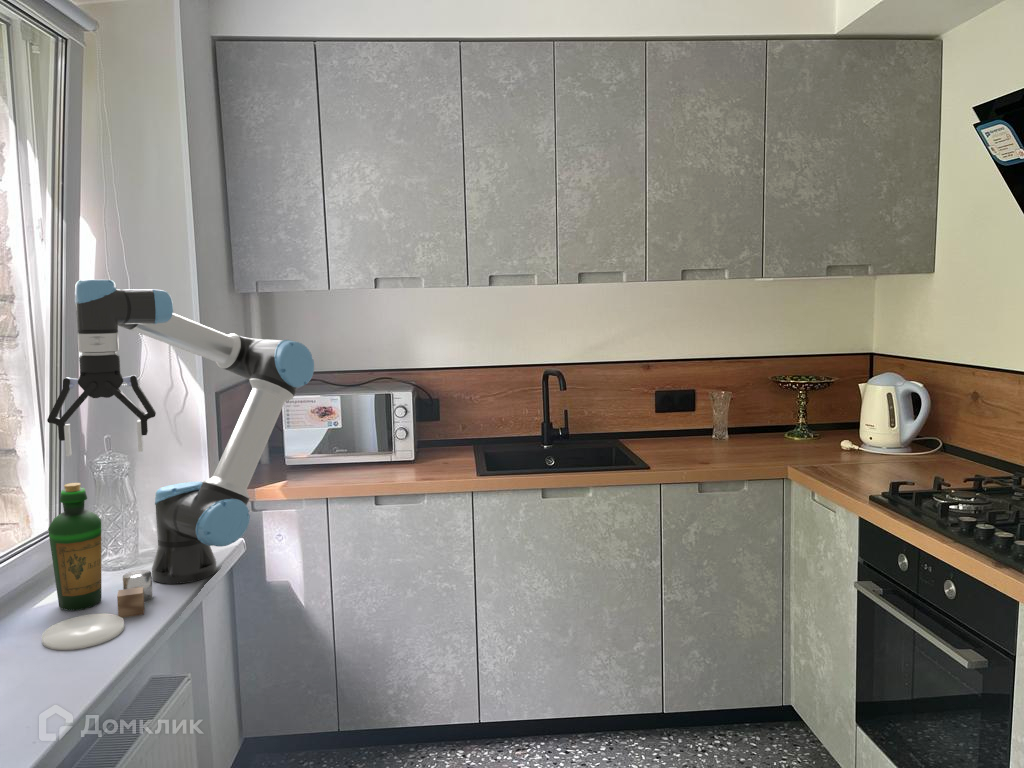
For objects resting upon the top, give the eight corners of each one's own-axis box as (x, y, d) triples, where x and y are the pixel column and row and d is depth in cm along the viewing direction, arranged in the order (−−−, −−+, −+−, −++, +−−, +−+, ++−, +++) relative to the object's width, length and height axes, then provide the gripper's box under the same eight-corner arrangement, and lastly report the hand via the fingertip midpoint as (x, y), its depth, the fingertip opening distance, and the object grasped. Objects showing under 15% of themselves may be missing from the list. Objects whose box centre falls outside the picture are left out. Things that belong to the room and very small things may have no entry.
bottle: (77, 616, 170) (69, 492, 167) (42, 610, 174) (33, 488, 170) (117, 598, 180) (110, 481, 177) (83, 592, 184) (75, 477, 180)
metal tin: (153, 593, 184) (151, 568, 183) (152, 602, 178) (150, 577, 177) (124, 596, 181) (123, 572, 181) (123, 606, 176) (121, 580, 175)
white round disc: (126, 614, 171) (126, 609, 171) (121, 642, 157) (121, 636, 157) (48, 625, 165) (47, 620, 165) (36, 655, 152) (35, 649, 151)
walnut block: (144, 608, 175) (143, 586, 174) (143, 614, 171) (142, 593, 171) (119, 611, 173) (118, 590, 172) (118, 618, 169) (117, 596, 169)
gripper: (26, 356, 154) (34, 461, 157) (163, 352, 164) (169, 451, 166) (33, 354, 161) (40, 454, 163) (164, 350, 171) (169, 445, 173)
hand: (105, 453), depth 165 cm, fingers open, 13 cm apart
